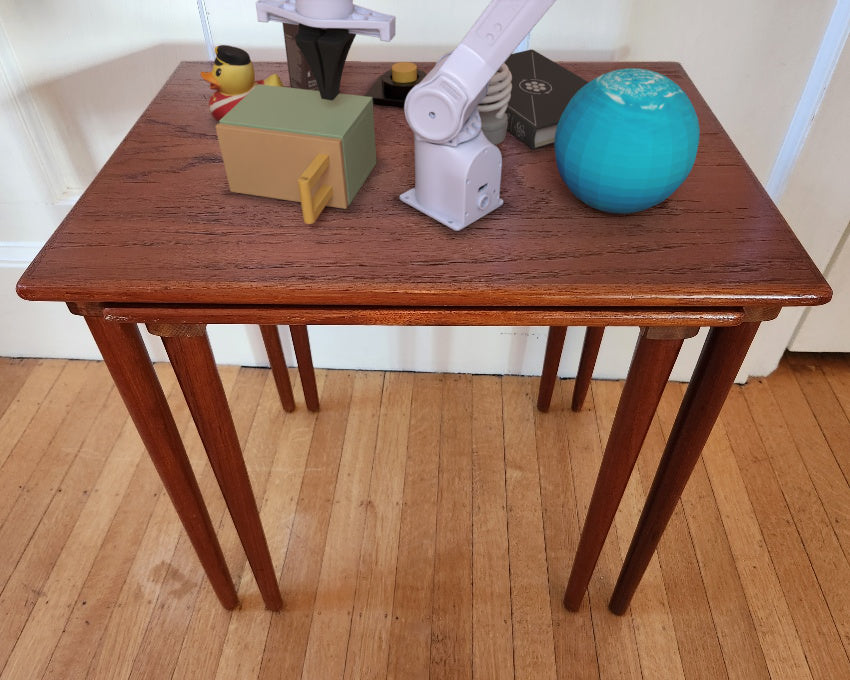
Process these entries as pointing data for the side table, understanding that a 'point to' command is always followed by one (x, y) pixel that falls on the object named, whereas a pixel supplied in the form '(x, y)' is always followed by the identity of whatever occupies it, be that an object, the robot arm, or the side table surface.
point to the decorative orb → (627, 141)
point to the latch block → (392, 89)
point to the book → (537, 97)
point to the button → (404, 72)
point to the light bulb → (496, 106)
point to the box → (297, 61)
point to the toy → (232, 79)
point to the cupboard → (315, 123)
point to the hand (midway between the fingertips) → (330, 96)
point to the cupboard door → (285, 167)
